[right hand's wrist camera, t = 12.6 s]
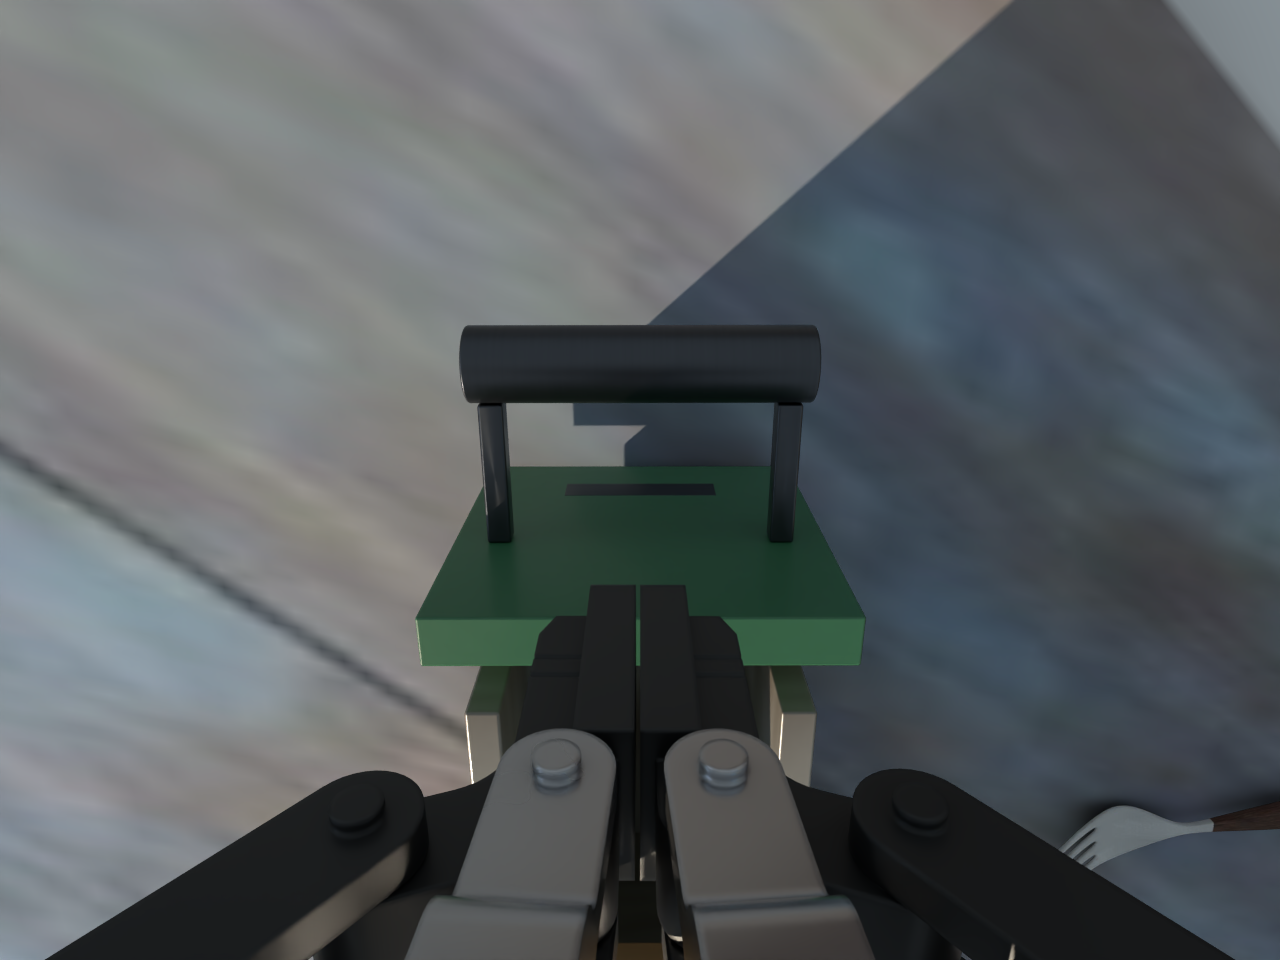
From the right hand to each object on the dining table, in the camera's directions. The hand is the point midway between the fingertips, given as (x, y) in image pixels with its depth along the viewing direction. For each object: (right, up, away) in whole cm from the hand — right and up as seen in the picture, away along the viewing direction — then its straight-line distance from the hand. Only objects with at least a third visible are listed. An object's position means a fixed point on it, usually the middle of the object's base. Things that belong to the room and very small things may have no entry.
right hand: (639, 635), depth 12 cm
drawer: (0, -2, +14) cm, 14 cm away
